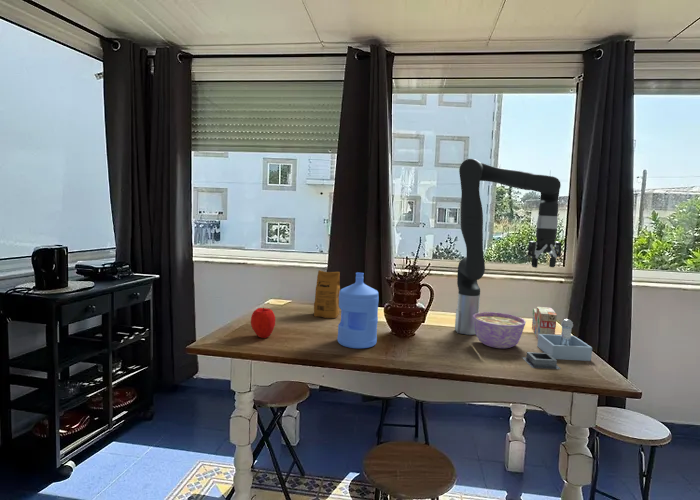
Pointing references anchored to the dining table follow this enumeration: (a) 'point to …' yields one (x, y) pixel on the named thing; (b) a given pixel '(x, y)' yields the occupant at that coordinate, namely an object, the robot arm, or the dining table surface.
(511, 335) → the bowl of food
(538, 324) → the stack of blocks
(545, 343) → the bin
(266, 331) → the apple
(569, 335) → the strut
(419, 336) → the dining table surface
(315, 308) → the coffee package
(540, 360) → the socket block
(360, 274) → the water jug
